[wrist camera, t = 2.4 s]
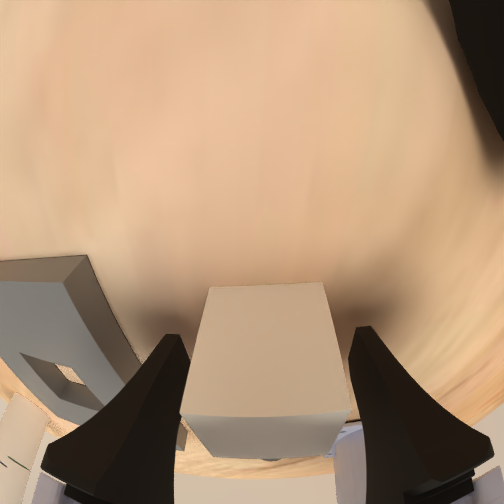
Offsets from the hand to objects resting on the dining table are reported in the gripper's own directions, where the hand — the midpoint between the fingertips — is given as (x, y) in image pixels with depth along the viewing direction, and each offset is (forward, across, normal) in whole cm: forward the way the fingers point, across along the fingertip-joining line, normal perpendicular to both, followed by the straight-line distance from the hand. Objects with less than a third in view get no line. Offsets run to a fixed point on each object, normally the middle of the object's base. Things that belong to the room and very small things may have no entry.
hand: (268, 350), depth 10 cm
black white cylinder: (+2, -23, -18) cm, 29 cm away
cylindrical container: (+2, +37, +22) cm, 43 cm away
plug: (+2, 0, 0) cm, 2 cm away
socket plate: (+1, +15, +5) cm, 16 cm away
